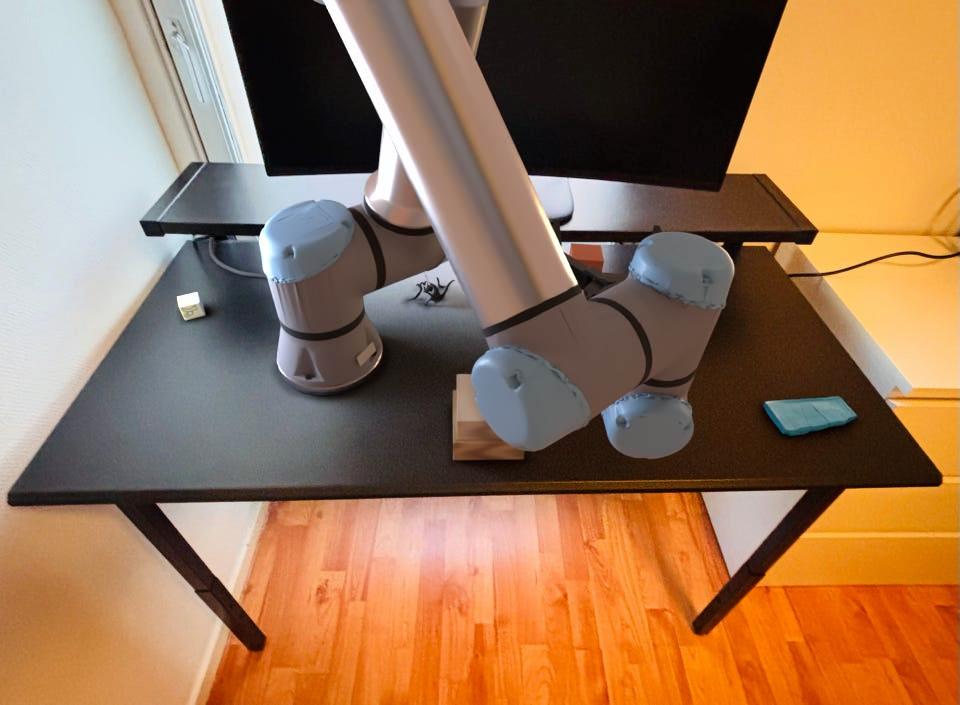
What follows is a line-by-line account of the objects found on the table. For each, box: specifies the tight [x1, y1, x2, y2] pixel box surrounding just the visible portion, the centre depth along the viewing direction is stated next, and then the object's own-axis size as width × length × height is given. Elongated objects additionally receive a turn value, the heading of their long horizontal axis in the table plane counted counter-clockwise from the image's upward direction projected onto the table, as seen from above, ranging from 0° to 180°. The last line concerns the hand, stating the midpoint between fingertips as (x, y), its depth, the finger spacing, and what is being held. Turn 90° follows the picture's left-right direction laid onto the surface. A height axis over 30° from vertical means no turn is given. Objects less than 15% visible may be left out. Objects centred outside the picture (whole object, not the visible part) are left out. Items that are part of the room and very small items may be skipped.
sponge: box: [763, 396, 858, 437], centre depth 74 cm, size 2×12×6 cm
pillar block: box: [568, 242, 605, 280], centre depth 90 cm, size 5×5×10 cm
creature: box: [406, 271, 456, 307], centre depth 91 cm, size 8×5×8 cm
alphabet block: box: [176, 291, 206, 321], centre depth 86 cm, size 3×3×3 cm
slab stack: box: [452, 373, 525, 461], centre depth 69 cm, size 9×9×7 cm
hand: (604, 231), depth 73 cm, fingers open, 13 cm apart
